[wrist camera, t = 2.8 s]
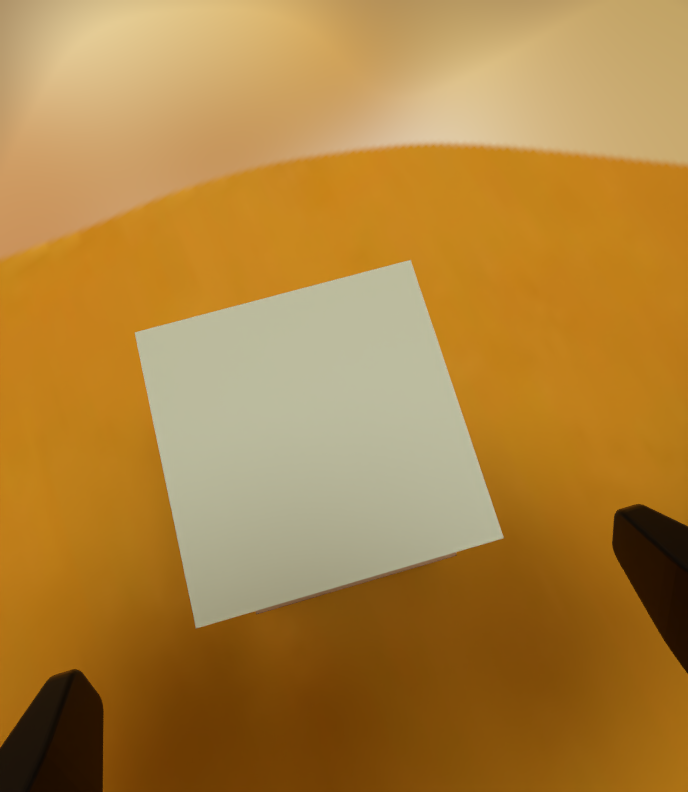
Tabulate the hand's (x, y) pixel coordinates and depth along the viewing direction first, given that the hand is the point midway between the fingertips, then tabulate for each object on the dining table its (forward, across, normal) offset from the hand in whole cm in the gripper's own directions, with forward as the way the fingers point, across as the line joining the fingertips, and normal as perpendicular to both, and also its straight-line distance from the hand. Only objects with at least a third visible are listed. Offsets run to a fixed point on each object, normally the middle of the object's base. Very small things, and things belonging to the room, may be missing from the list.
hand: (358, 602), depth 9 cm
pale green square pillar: (+7, 0, +4) cm, 8 cm away
